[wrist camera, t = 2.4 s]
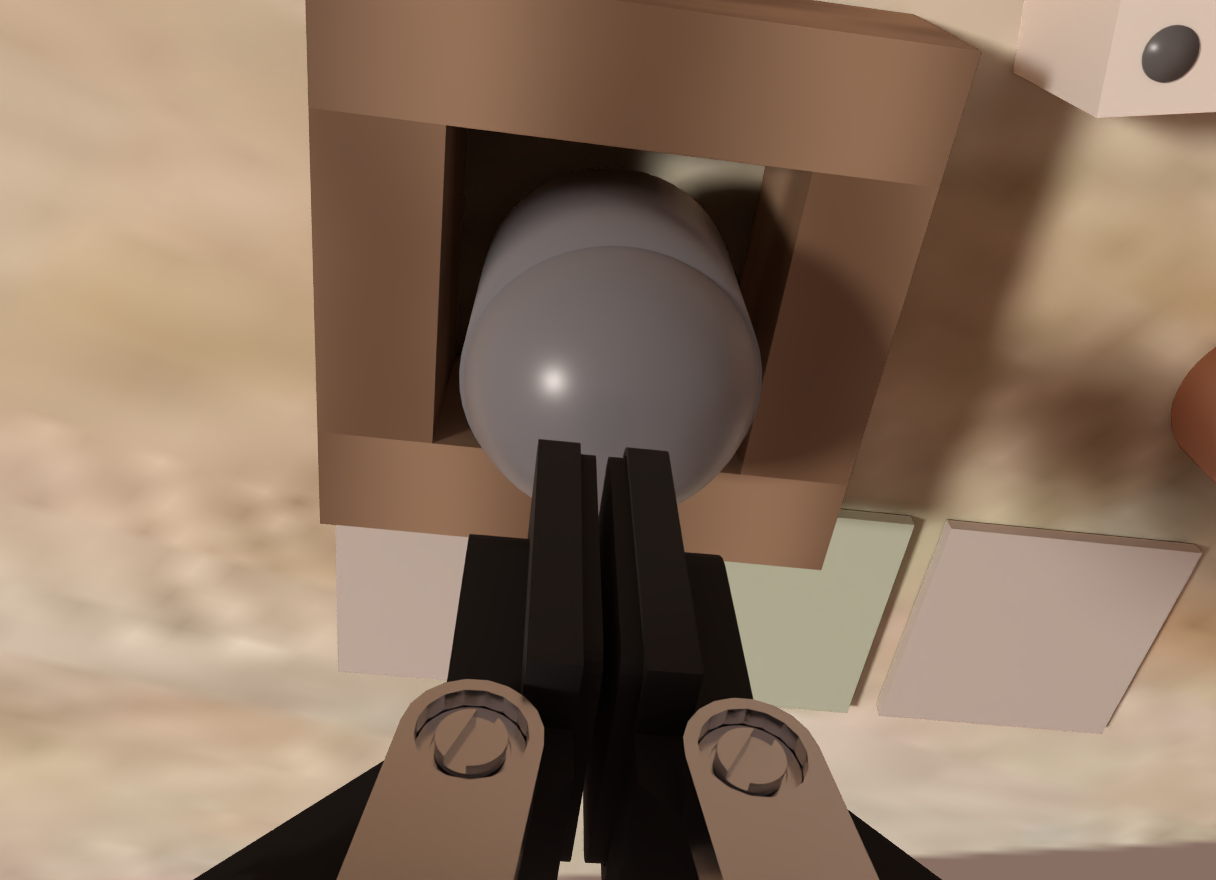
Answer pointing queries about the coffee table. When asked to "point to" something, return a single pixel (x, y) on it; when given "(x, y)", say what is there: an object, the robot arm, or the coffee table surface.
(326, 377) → the frame
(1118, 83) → the die
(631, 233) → the dome
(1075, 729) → the tile strip
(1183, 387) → the brown rounded cylinder piece
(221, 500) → the coffee table surface
